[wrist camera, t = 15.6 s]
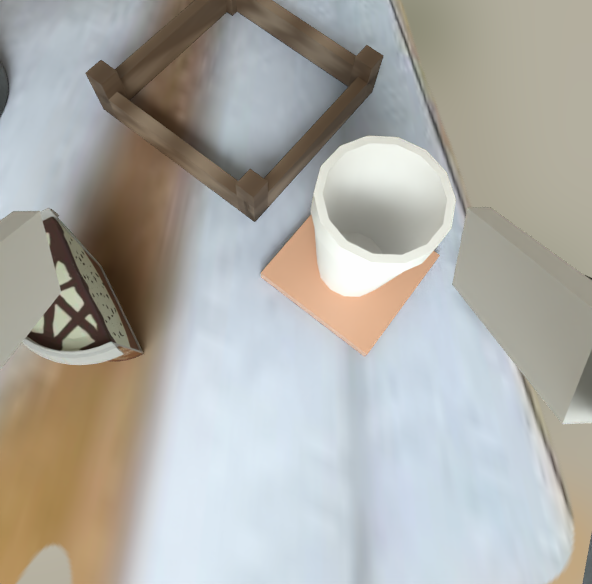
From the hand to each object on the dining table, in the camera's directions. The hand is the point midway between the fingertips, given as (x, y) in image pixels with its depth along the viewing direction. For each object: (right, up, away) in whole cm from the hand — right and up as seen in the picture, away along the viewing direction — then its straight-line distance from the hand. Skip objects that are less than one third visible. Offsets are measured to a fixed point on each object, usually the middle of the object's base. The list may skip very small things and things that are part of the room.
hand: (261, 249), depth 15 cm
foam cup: (+6, +1, +28) cm, 29 cm away
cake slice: (-17, -4, +27) cm, 32 cm away
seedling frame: (-5, +19, +34) cm, 39 cm away
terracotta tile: (+6, +1, +29) cm, 30 cm away
